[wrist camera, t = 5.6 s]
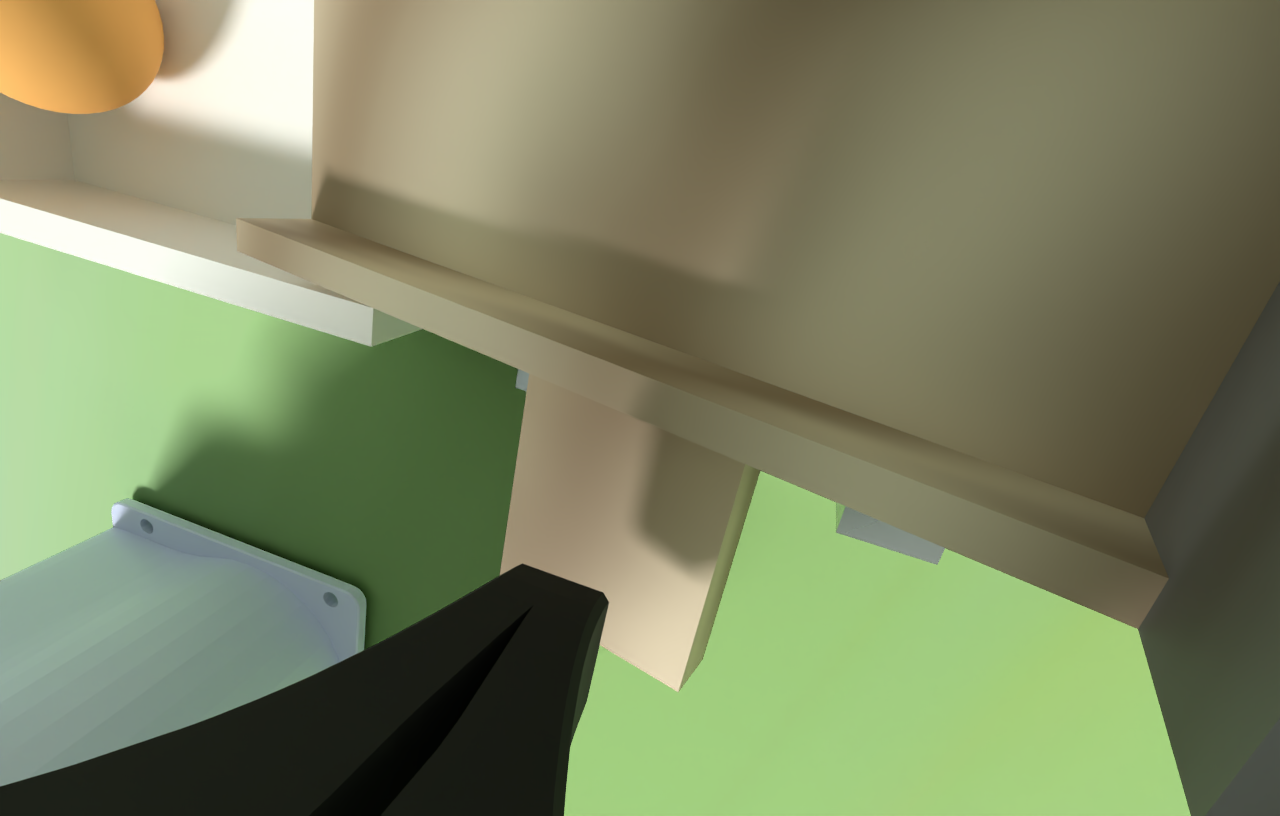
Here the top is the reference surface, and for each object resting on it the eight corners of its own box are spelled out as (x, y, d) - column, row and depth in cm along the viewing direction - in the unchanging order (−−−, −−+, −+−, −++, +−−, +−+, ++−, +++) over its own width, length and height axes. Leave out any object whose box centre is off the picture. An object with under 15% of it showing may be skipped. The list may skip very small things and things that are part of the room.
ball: (-101, 97, 12) (167, 138, 14) (-156, -171, 11) (153, -79, 13) (-42, 87, 15) (172, 122, 17) (-78, -124, 14) (161, -56, 16)
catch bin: (75, 203, 19) (-243, 211, 13) (24, -225, 15) (-440, -457, 10) (463, 315, 16) (273, 381, 11) (512, -161, 13) (264, -423, 7)
